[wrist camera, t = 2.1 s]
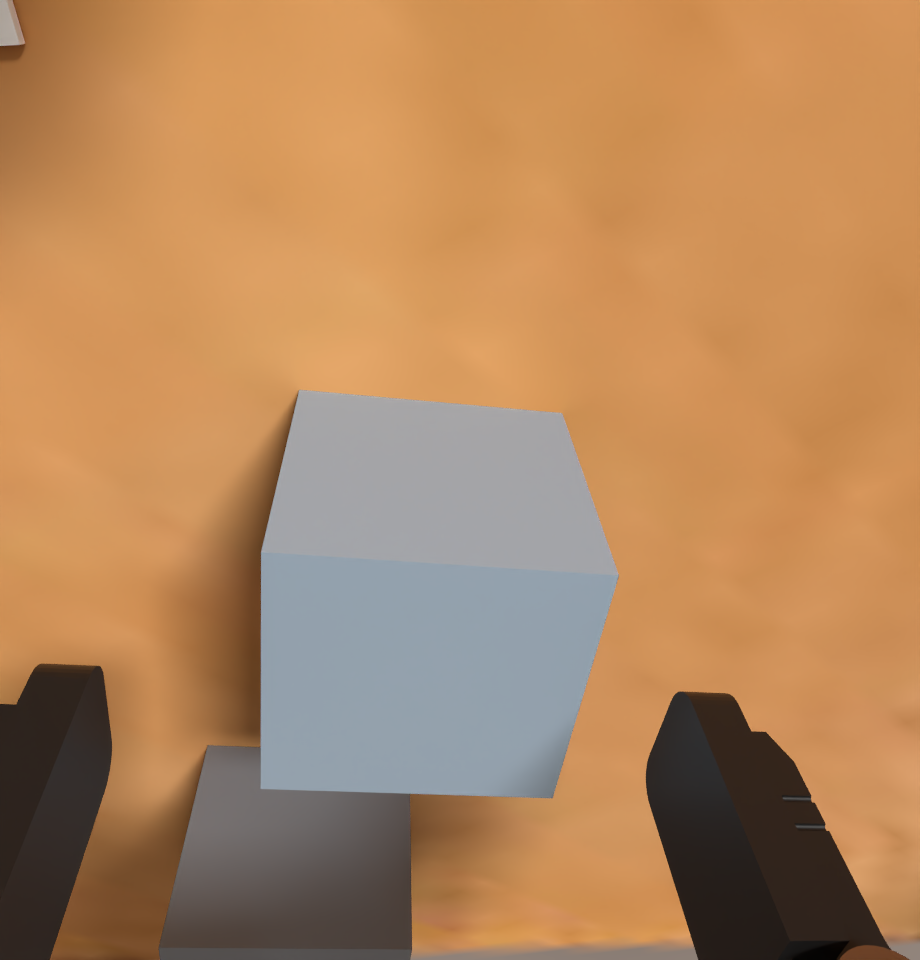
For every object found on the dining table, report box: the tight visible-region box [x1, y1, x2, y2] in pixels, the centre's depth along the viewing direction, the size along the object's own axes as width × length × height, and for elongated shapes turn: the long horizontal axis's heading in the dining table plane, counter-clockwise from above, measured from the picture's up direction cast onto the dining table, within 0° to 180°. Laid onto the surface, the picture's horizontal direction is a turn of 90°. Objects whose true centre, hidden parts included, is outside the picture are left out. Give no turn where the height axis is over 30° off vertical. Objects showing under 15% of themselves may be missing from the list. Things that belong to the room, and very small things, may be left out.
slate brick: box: [159, 745, 412, 960], centre depth 20 cm, size 5×5×5 cm
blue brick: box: [261, 390, 619, 798], centre depth 15 cm, size 5×5×5 cm
